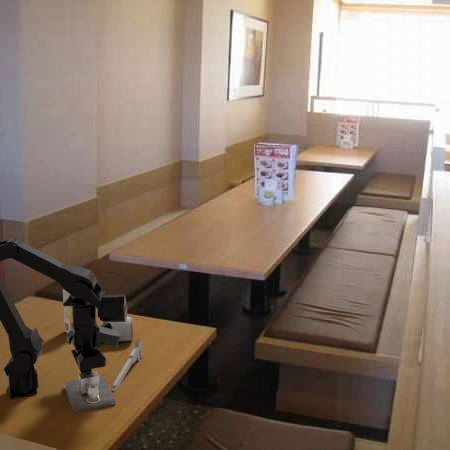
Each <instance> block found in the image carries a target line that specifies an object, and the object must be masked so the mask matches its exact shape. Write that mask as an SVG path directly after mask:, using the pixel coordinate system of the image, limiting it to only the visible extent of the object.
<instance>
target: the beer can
mask: <svg viewBox="0 0 450 450" xmlns="http://www.w3.org/2000/svg"><path fill="white" fill-rule="evenodd" d="M69 296H70V294H69V293H68V292H67V291H65V290H64V289H63V288H62V301H63V302H62V304H63V303H64V302H65V300H66V299H67V298H68V297H69ZM63 320H64V321H63V323H64V325H63V326H64V332H66V335H67V334H68V332H69V331H71V330H72V328H71V323H73V321H72V306H63Z"/></svg>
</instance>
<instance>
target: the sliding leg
mask: <svg viewBox="0 0 450 450" xmlns="http://www.w3.org/2000/svg"><path fill="white" fill-rule="evenodd" d="M99 376H100V375H99V373H98V371H97V370H92V371H91V372H86V373H81V372H80V373H78V380H79V389H80V391H81V394H85V393H88V392H87V386H88V385H90V384H97V385H98V389H99V391H100V385H99Z"/></svg>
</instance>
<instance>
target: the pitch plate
mask: <svg viewBox="0 0 450 450" xmlns="http://www.w3.org/2000/svg"><path fill="white" fill-rule="evenodd" d="M63 384H64V385H63V386H64V390H66V391H65V393H66V396H67V398H69V399H68V401H69V404H70V407H71V408H72V411H73V413H78V412H81V411H82V412H83V411H87V410H93V409H99V408H103V407H104V408H105V407H109V406H113V405H114V406H115V405H116V397H115V395H114V394H113V391H111V389H112V388H110V386H109V384H108V382H107V380H106V378H105V376H104V375H99V385H100V391H99V389H98V385H97V384H90V385H88V386H87V392H88V393H85V394H81V391H80V389H79V379H76V380H70V381H64V382H63Z"/></svg>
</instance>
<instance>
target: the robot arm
mask: <svg viewBox="0 0 450 450" xmlns="http://www.w3.org/2000/svg"><path fill="white" fill-rule="evenodd" d="M9 259H12V260H14V261H16V262H19V263H20V264H22V265H24V266H26V267H28V268H30V269H32V270H34V271H35V272H38V273H39V274H41V275H43V276H45V277H47V278H49V279H50V280H51V279H52V280H53V281H54V282H56V283H58V285H59V286H60V287H61V288H62V290H63V289H64V290H65V291H67V292H68V293H69V294H70V296H69V297H68V298H67V299H66V300H65V302H64V303H63V302H62V305H63V307H64V306H72V321H73V323H71V328H72V330H71V331H69V332H68V334H67V333H66V341H67V344H68V346H69V345H72V346H73V348H74V349H72V350H71V354H72V356H73V359H74V361H75V362H76V365H77V368H78V369H79V372H80V373H86V372H92V371H93V369H99V368H104V367H106V366H107V358H106V356H105V354H104V352H103V351H101V350H100V348H102V347H101V345H102V346H106V347H112V348H114V349H116V348H117V347H118V345H119V342H120V341H119V339H120V336H121V335H120V334H119V332H118V331H117V330H115V329H114V328H113V329H112V325H111V323H110V322H126V320H127V317H128V304H127V299H126V294H125V293H119V294H105V293H106V291H105V289H103V287H102V286H101V285H100V284H99V282H98V281H97V277H96V274H95V272H93V271H92V270H90V269H88V268H84V267H81V266H79V265H74V264H73V265H72V264H67V263H64V262H63V261H59V260H58V259H55V258H54V257H53V256H50V255H48V254H46V253H44V252H42V251H41V250H39V249H36V248H34V247H32V246H31V245H29V244H28V243H26V242H23V241H22V240H21V239H19V238H17V237H12V238H10V239H6V240H1V241H0V262H2V261H6V260H9ZM97 318H98V319H99V321H100V322H102V324H101V325H99V326H98V324H97ZM0 322H1V325H2V326H3V328H4V331H5V332H6V334H7V336H8V344H9V351H10V354H11V357H10V358H9V360H8V362H7V363H6V365H5V366H4V368H3V370H4V373H5V374H6V376H7V379H8V380H7V381H8V382H7V383H8V385H7V390H8V394H9V395H8V396H9V398H10V399H16V398H22V397H29V396H33V395H37V394H38V390H37V389H38V388H39V378H38V377H39V376H38V372H37V369H36V368H35V365H36V363H37V361H38V360H39V357H40V356H41V354H42V353H43V352H42V351H43V349H44V344H43V343H44V341H45V340H44V339H43V338H42V337H41V336H40V333H39V330H38V328H37V327H34V328H33V329H31V328H29V327H28V326H27V325H26V323H25V322H24V320H23V318H22V316H21V314H20V312H19V310H18V308H17V306H16V304H15V302H14V301H13V299H12V297H11V295H10V293H9V291H8V289H7V287H6V285H5V283H4V280H2V277H1V276H0ZM98 348H99V349H98Z"/></svg>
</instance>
